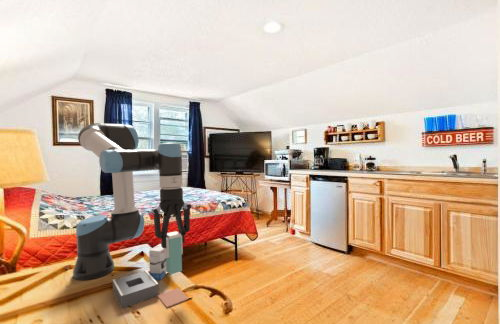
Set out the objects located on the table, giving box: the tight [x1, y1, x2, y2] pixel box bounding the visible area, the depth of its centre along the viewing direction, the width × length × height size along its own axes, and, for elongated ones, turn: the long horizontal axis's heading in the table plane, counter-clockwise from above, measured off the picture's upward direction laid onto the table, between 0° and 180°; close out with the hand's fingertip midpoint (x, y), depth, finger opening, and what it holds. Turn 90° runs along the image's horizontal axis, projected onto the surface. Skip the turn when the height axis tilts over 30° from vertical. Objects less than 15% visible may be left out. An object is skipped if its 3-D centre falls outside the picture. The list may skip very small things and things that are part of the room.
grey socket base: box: [112, 269, 159, 309], centre depth 94 cm, size 14×12×4 cm
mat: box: [157, 287, 190, 309], centre depth 91 cm, size 9×9×1 cm
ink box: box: [148, 243, 168, 281], centre depth 107 cm, size 8×5×12 cm, turn 168°
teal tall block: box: [166, 230, 183, 275], centre depth 90 cm, size 4×4×13 cm
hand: (173, 254), depth 90 cm, fingers closed on teal tall block, 4 cm apart
